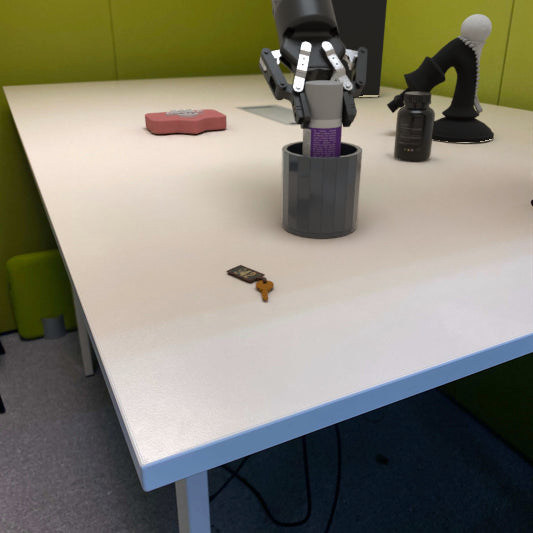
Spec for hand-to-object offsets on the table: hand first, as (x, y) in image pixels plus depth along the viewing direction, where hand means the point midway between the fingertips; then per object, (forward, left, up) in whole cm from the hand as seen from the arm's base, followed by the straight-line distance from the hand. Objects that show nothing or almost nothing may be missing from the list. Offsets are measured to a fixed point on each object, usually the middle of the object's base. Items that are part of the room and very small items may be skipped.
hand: (327, 123), depth 65 cm
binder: (-98, -84, -14) cm, 129 cm away
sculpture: (-63, -23, -14) cm, 68 cm away
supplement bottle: (-41, -15, -14) cm, 45 cm away
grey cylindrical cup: (-1, -2, -13) cm, 13 cm away
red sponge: (-26, -68, -14) cm, 74 cm away
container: (-1, -2, -11) cm, 11 cm away
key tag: (+17, +5, -13) cm, 22 cm away
